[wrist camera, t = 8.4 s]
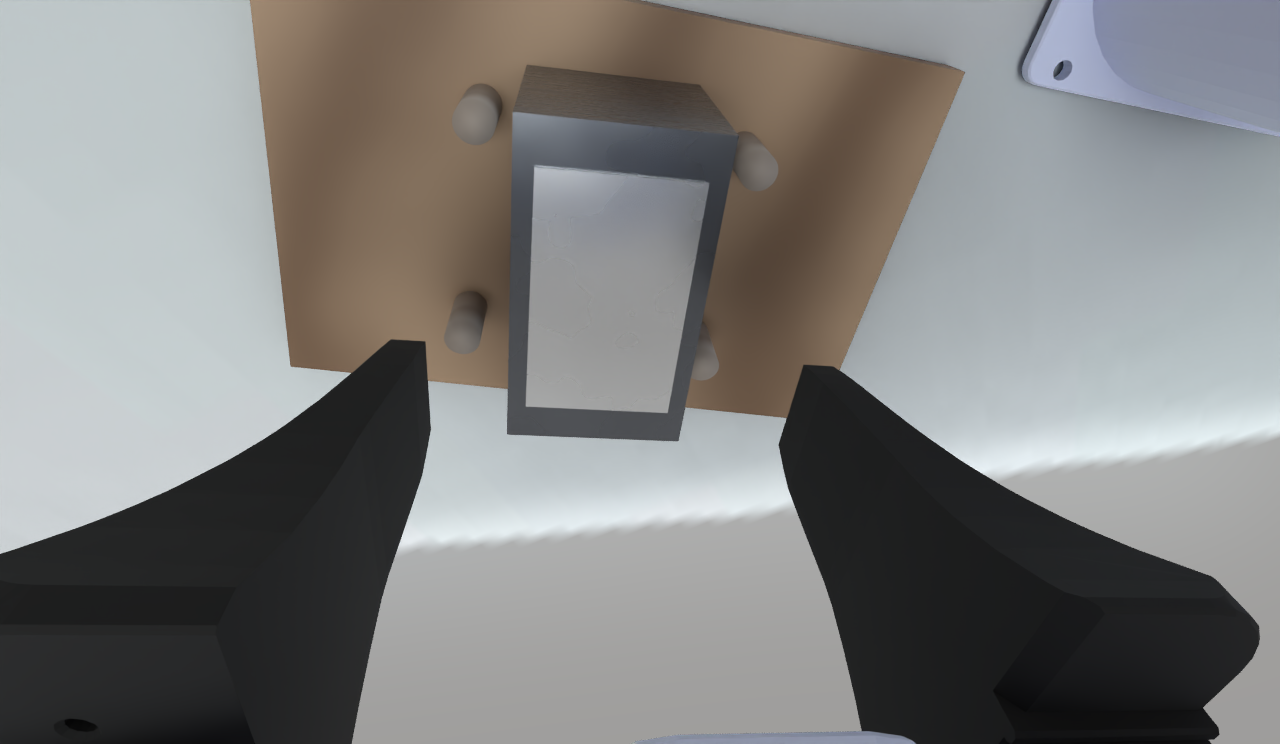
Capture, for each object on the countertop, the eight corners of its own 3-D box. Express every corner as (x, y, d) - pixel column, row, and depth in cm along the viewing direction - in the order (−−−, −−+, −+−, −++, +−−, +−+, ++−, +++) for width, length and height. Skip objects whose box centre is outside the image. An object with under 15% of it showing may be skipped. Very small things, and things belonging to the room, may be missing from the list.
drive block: (699, 84, 18) (739, 137, 13) (657, 343, 22) (678, 443, 18) (526, 64, 17) (512, 113, 13) (519, 334, 21) (506, 436, 17)
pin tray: (948, 65, 19) (1004, 87, 16) (809, 404, 25) (835, 457, 23) (258, -81, 16) (200, -80, 13) (301, 349, 22) (267, 404, 20)
